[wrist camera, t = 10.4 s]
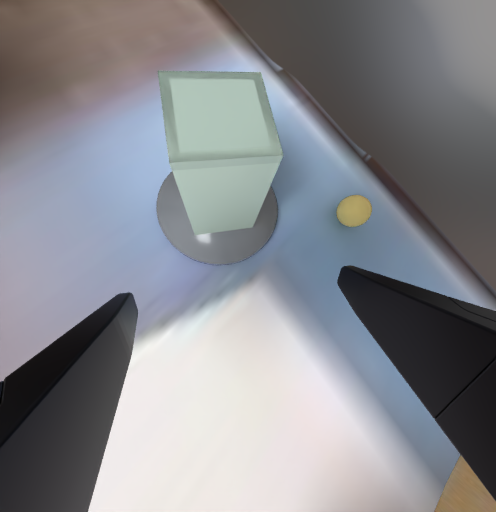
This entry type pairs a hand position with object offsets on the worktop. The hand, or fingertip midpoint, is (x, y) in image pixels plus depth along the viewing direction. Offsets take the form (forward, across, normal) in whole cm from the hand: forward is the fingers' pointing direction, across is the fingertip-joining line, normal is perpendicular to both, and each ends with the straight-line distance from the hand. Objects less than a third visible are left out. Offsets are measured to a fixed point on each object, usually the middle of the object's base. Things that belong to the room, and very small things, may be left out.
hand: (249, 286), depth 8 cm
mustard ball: (+10, -13, +1) cm, 16 cm away
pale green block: (+12, 0, -1) cm, 12 cm away
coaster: (+12, 0, 0) cm, 12 cm away
